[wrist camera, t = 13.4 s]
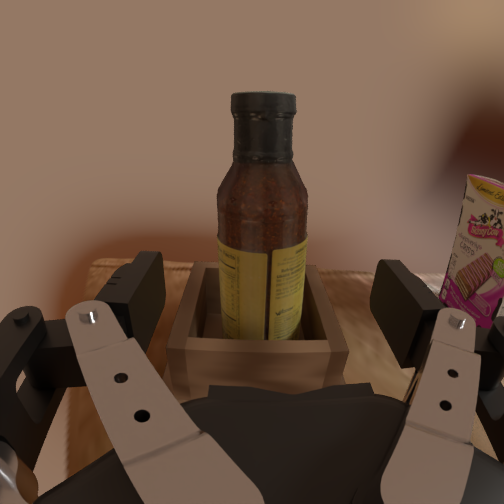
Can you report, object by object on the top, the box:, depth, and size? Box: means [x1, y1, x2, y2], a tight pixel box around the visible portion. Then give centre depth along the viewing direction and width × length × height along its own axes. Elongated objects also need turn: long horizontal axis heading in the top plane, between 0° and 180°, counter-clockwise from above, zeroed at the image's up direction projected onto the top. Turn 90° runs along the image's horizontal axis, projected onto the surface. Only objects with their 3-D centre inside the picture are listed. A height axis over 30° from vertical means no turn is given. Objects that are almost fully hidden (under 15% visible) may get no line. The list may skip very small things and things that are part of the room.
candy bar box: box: [439, 174, 504, 329], centre depth 28 cm, size 11×5×16 cm, turn 0°
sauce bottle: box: [217, 91, 308, 340], centre depth 22 cm, size 7×6×20 cm
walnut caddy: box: [162, 262, 349, 404], centre depth 26 cm, size 14×14×6 cm
